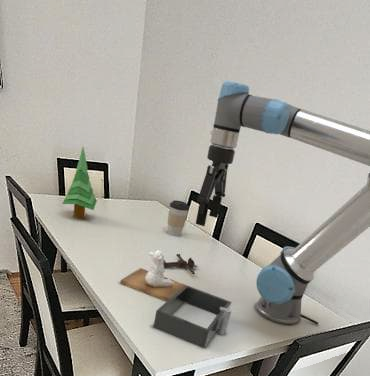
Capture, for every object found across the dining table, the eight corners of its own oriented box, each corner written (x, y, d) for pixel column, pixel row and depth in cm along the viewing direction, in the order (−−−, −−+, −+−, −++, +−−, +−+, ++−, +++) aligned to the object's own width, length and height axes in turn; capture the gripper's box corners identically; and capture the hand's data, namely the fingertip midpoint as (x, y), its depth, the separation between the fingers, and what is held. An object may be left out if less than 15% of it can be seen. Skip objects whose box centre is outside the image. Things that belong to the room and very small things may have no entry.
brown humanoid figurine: (154, 249, 152) (188, 248, 157) (154, 259, 154) (187, 257, 159) (170, 269, 138) (206, 267, 144) (169, 280, 141) (204, 277, 146)
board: (189, 289, 135) (190, 286, 134) (173, 304, 124) (174, 300, 123) (140, 270, 139) (140, 267, 139) (120, 283, 128) (120, 280, 127)
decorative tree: (100, 222, 174) (107, 151, 158) (66, 221, 166) (69, 146, 150) (90, 212, 183) (95, 144, 167) (57, 211, 175) (59, 139, 159)
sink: (234, 319, 123) (241, 297, 119) (212, 351, 105) (220, 326, 101) (182, 299, 127) (187, 277, 123) (153, 327, 109) (158, 302, 105)
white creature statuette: (174, 287, 131) (181, 254, 125) (156, 292, 125) (163, 258, 119) (154, 275, 136) (160, 243, 129) (137, 280, 130) (142, 246, 123)
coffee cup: (162, 229, 185) (168, 197, 177) (180, 230, 188) (186, 200, 180) (167, 236, 178) (173, 203, 170) (185, 237, 181) (192, 206, 173)
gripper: (222, 142, 120) (207, 210, 131) (196, 144, 99) (181, 225, 111) (244, 148, 118) (228, 216, 130) (223, 151, 98) (205, 232, 109)
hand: (206, 220), depth 120 cm, fingers open, 13 cm apart
